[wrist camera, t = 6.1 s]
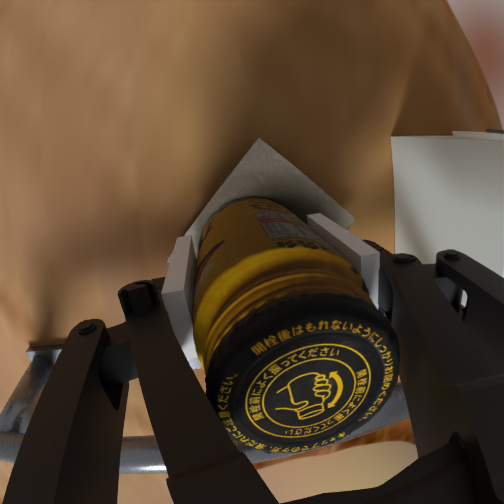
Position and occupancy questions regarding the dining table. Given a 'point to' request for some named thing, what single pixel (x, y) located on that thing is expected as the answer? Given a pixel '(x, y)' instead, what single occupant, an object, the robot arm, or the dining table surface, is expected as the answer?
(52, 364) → the handrail
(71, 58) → the dining table surface
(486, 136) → the cabinet
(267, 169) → the condiment
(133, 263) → the dining table surface
